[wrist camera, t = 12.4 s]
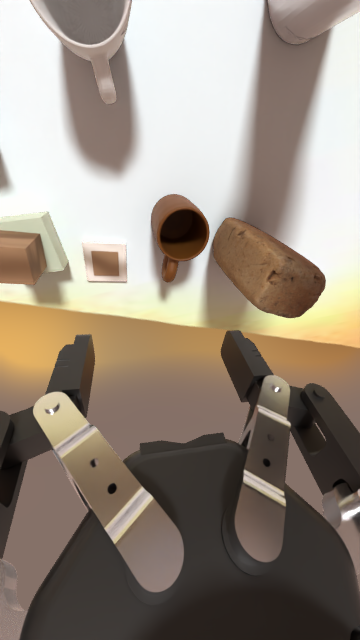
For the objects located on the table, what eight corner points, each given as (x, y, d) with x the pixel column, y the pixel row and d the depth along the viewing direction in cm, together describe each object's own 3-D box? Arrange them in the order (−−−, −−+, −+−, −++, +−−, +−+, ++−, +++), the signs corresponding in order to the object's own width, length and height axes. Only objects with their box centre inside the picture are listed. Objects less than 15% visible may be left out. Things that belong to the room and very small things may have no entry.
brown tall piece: (203, 250, 42) (247, 311, 27) (223, 209, 39) (286, 254, 23) (248, 267, 46) (309, 329, 31) (270, 232, 43) (352, 283, 27)
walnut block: (0, 230, 31) (-23, 245, 27) (40, 233, 32) (25, 248, 28) (10, 263, 34) (-9, 282, 30) (46, 266, 35) (34, 284, 31)
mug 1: (146, 104, 29) (152, 89, 21) (81, 116, 29) (63, 106, 21) (117, -58, 22) (110, -170, 14) (29, -44, 21) (-27, -151, 14)
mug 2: (180, 267, 44) (190, 292, 36) (140, 259, 41) (143, 283, 34) (201, 201, 37) (219, 214, 30) (156, 186, 35) (164, 197, 27)
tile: (82, 241, 38) (81, 243, 37) (125, 243, 39) (125, 245, 38) (87, 279, 42) (87, 281, 41) (126, 280, 43) (126, 282, 42)
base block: (-7, 217, 34) (-21, 225, 31) (48, 210, 34) (40, 217, 31) (20, 267, 39) (11, 277, 36) (68, 260, 39) (63, 270, 36)
